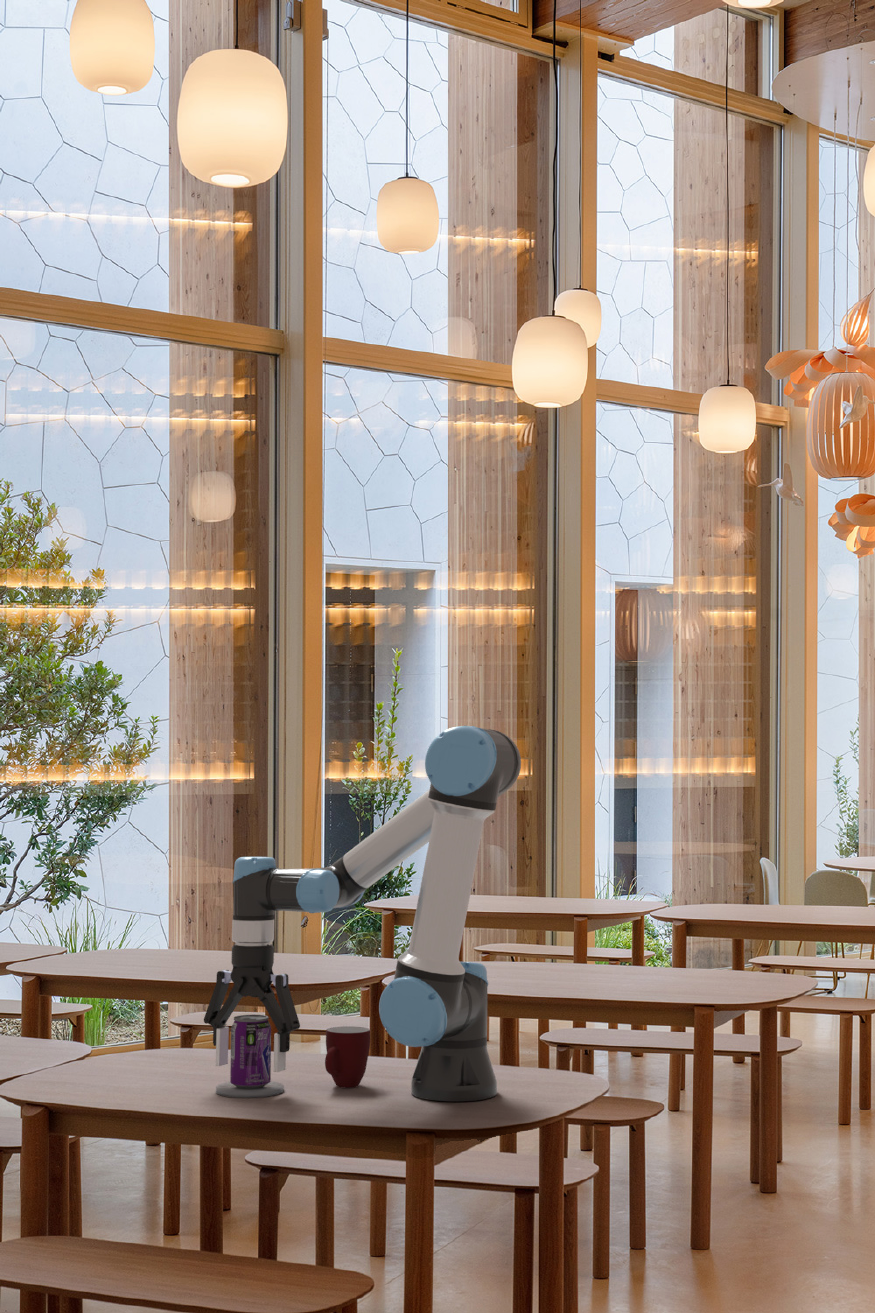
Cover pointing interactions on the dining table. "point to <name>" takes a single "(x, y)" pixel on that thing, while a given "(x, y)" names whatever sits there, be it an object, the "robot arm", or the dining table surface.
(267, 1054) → the beverage can
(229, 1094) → the coaster
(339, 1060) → the mug
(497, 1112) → the dining table surface
